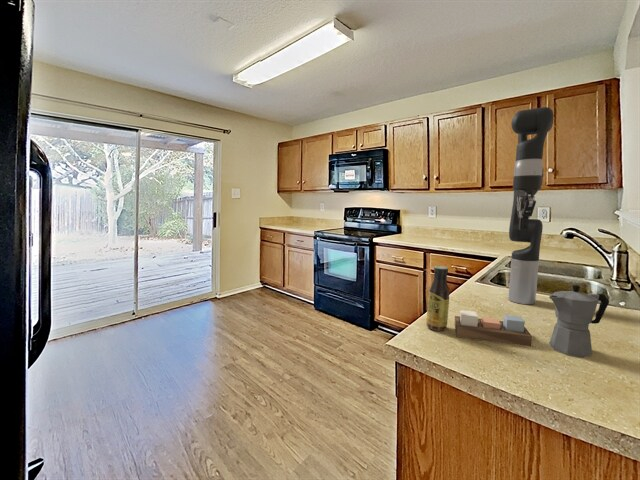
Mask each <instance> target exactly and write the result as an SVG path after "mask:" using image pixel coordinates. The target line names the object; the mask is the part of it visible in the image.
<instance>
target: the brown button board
mask: <svg viewBox="0 0 640 480" xmlns="http://www.w3.org/2000/svg"><path fill="white" fill-rule="evenodd" d="M499 322H500V324H501V325H500V329H492V328H483V327H482V326H481V318H478V325H477V327H475V326H466V325H460V315H459V316H458V315H454V324H453V325H454V329H455V334H456V338H462V339H468V340H469V339H471V340H477V341H485V342H491V343H492V342H493V343H500V344H508V345H515V346H522V347H523V346H524V347H530V348H531V347H532V344H533V342H532V341H533V336H532V334H531V332H530V331H529V330H528V329H527V328H526V326H525V325H524V332H517V331H508V330H505V329H504V327H503V320H499Z"/></svg>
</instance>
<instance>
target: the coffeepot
mask: <svg viewBox="0 0 640 480" xmlns="http://www.w3.org/2000/svg"><path fill="white" fill-rule="evenodd" d="M571 286H572V290H559V291H555V292H553V294H551V295H549V299H550V300H551V301H552V302H553V304H554V311H555V312H554V313H555V317H556V323H555V324H554V327H553V330H552V332H551V337H550V340H549V342H548V343H549V345H550V347H551V349H553V350H554V351H556V352H559V353H561V354H562V355H567V356H570V357H576V358H587V357H590V356H591V355H593V348H592V347H593V346H592V340H591V330H590V329H589V326H590V324H592V325H593V324H594V325H595V324H599V323H600V322H601V320H602V318H603V316H604V314H605V312H606V310H607V307H608V306H609V305H610V304H609V303H610V299H608V297H607V296H606V295H605V294H603V293H589V294H587V293H584V292H580V288H581V286H580V285H578V284H573V285H571ZM599 301H600V303H599ZM598 303H599V306H598V310H597V311H596V309H597V305H598ZM595 312H596V313H595ZM594 315H595V318H594ZM593 318H594V319H593Z"/></svg>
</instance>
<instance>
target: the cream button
mask: <svg viewBox="0 0 640 480" xmlns="http://www.w3.org/2000/svg"><path fill="white" fill-rule="evenodd" d="M459 316H460V325H466V326H475V327H477V325H478V319H479V316H478V313H477V311H473V310H463V309H461V310H460V314H459Z"/></svg>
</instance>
